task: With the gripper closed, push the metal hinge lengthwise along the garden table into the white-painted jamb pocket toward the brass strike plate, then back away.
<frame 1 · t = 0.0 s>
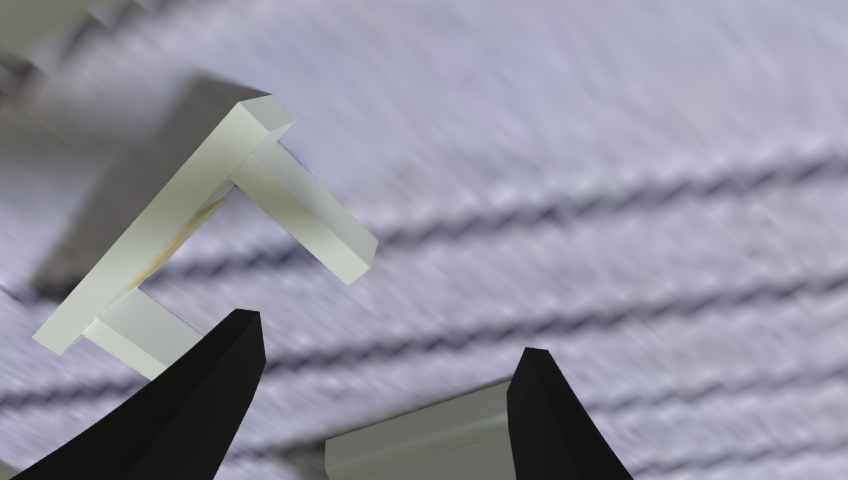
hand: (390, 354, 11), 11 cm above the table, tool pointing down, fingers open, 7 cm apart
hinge: (452, 439, 28), on the table
jamb pocket: (245, 272, 22), on the table
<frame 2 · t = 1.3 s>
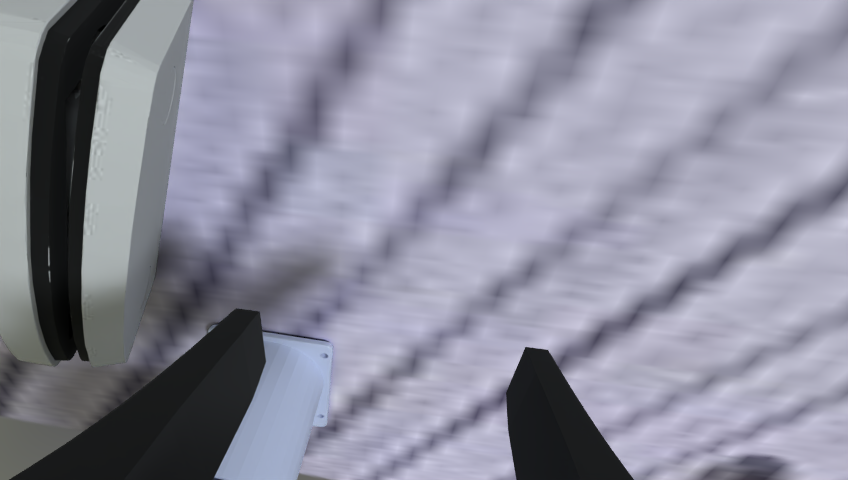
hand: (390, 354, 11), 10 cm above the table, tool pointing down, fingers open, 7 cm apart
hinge: (150, 153, 20), on the table
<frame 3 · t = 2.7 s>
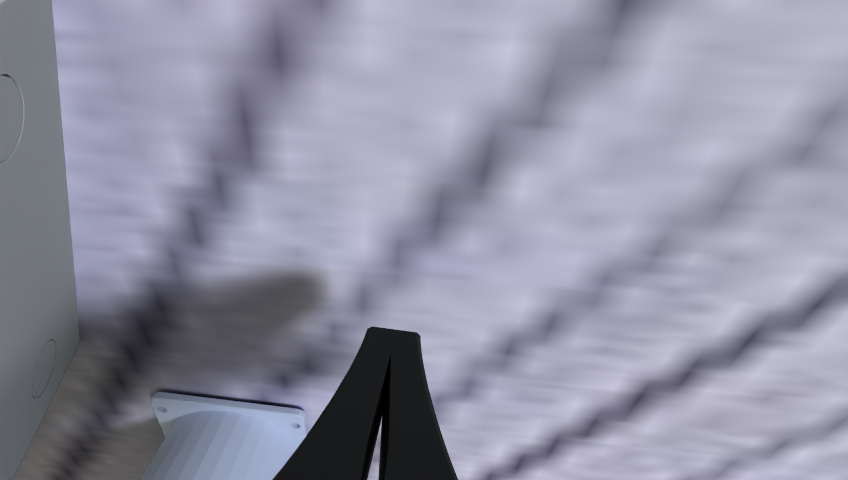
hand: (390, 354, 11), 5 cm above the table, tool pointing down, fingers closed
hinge: (43, 192, 15), on the table
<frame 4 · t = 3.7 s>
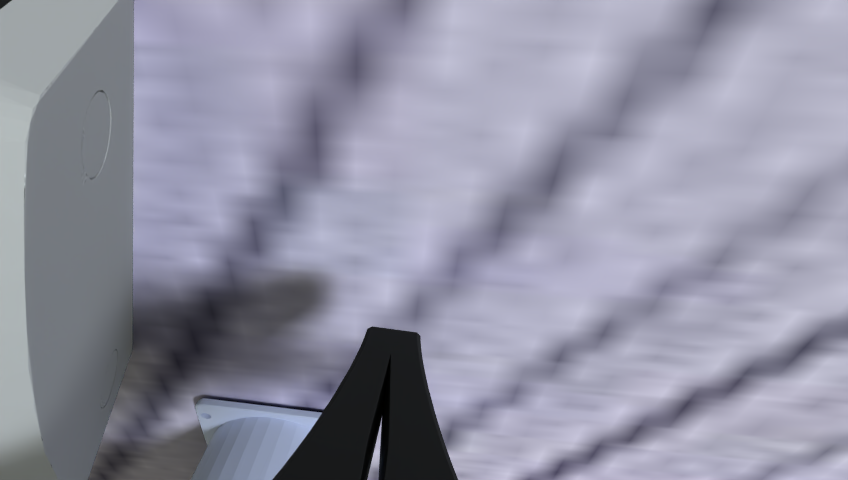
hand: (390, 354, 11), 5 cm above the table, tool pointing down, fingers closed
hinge: (107, 203, 15), on the table
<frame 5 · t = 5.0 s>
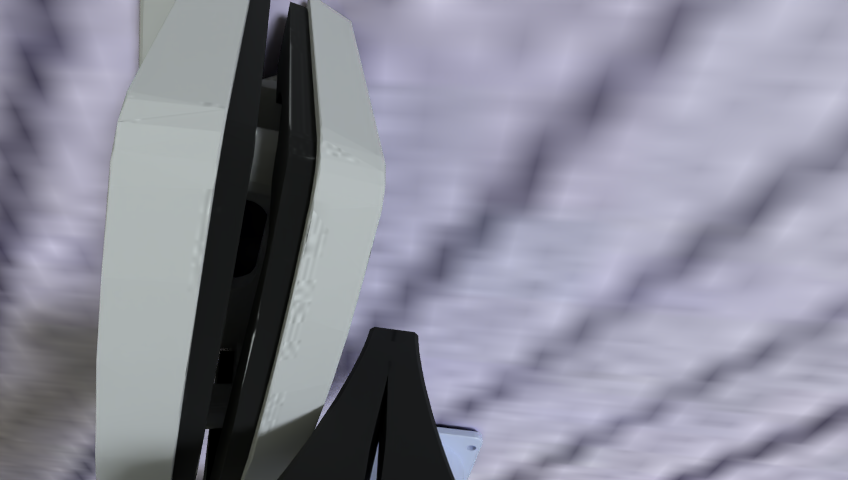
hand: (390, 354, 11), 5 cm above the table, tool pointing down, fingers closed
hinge: (261, 230, 15), on the table, touching gripper
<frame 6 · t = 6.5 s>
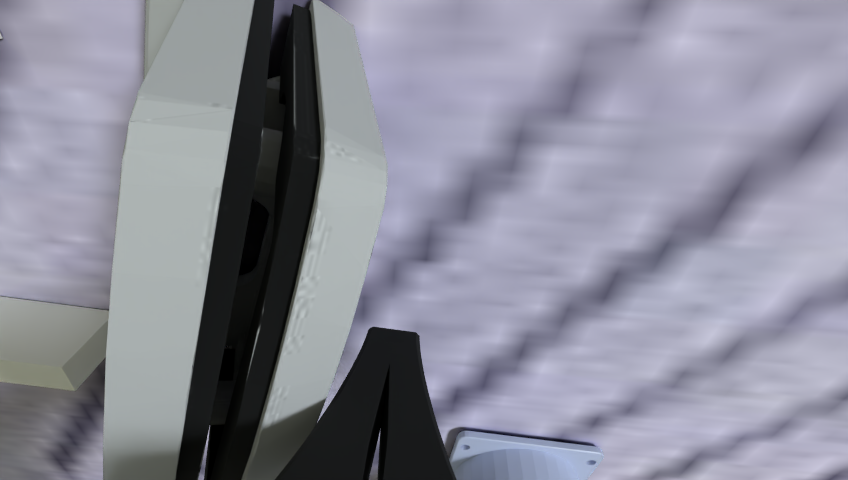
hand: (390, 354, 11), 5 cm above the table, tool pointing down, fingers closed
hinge: (262, 229, 15), on the table, touching gripper
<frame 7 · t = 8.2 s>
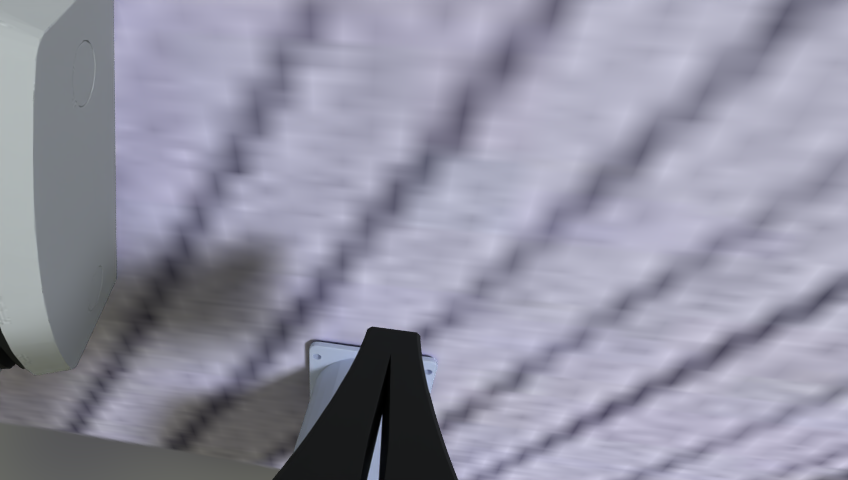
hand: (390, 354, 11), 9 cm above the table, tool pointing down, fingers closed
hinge: (94, 144, 18), on the table
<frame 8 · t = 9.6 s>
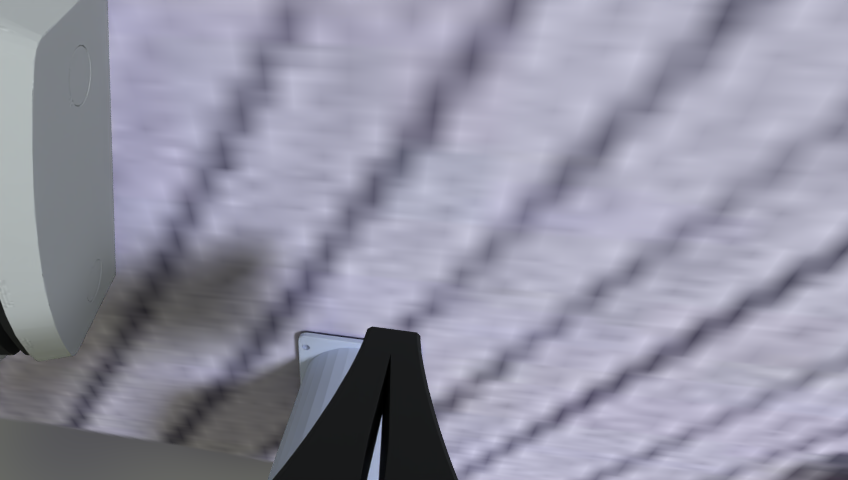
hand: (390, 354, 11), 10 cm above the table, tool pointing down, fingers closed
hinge: (92, 145, 20), on the table
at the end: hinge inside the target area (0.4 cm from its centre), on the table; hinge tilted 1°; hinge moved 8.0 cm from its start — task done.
